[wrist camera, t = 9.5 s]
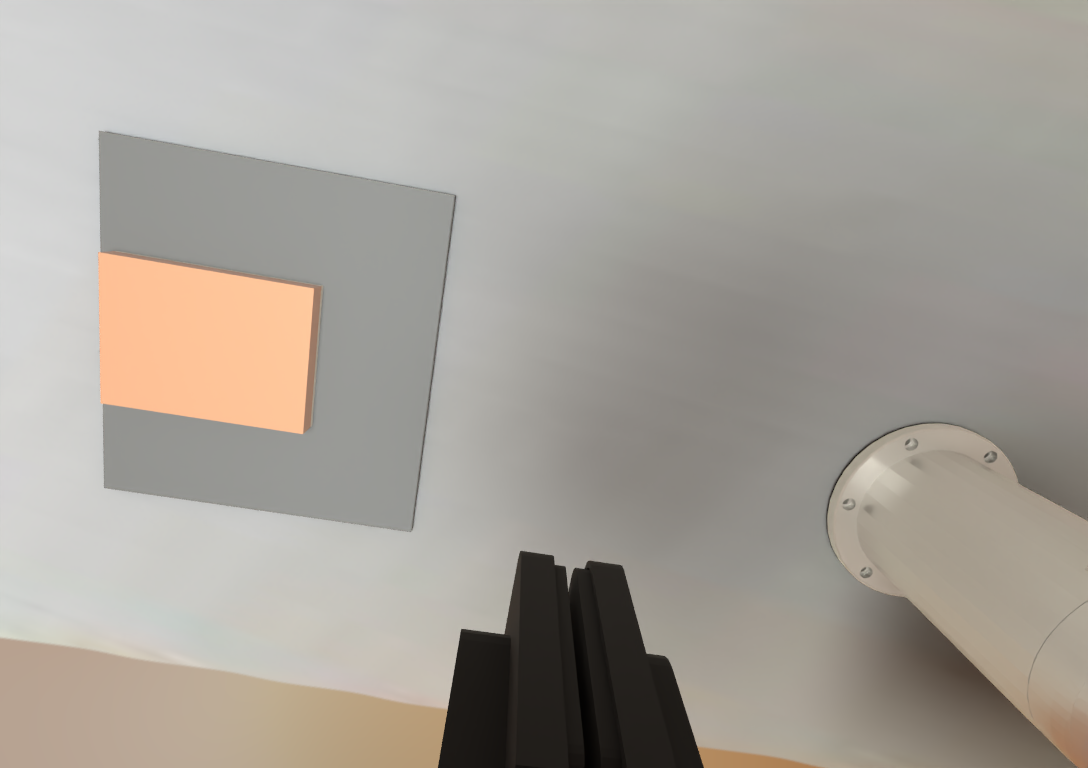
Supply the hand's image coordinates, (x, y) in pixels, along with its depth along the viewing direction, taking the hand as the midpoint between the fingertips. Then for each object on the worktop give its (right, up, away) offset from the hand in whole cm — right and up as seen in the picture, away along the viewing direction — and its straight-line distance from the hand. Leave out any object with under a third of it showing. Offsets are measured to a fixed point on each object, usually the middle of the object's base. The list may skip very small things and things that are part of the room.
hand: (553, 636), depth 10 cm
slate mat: (-17, +6, +28) cm, 33 cm away
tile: (-14, +6, +27) cm, 31 cm away
